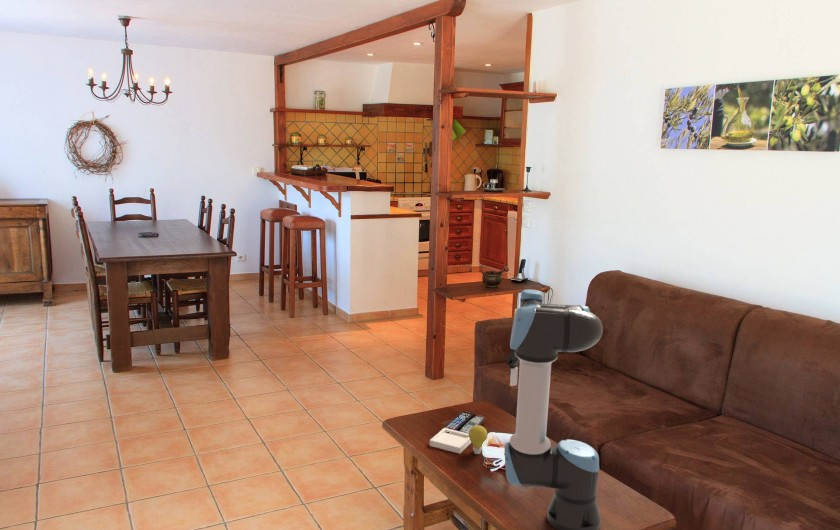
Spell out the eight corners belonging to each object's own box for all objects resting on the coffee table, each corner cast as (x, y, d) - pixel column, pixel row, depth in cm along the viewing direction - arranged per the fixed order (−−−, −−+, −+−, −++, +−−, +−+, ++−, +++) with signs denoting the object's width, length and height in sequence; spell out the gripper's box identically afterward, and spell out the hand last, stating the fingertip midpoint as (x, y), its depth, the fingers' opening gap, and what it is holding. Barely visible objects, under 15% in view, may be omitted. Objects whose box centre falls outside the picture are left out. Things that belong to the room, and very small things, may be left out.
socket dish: (459, 453, 225) (460, 447, 225) (429, 445, 230) (429, 440, 230) (473, 440, 235) (473, 435, 235) (444, 433, 241) (444, 427, 240)
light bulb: (487, 449, 229) (488, 423, 227) (486, 458, 222) (487, 431, 220) (468, 447, 230) (469, 421, 228) (466, 456, 223) (468, 429, 222)
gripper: (563, 341, 214) (559, 401, 218) (513, 323, 235) (510, 378, 239) (547, 345, 210) (543, 405, 214) (498, 326, 231) (495, 382, 234)
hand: (526, 391), depth 226 cm, fingers open, 13 cm apart
